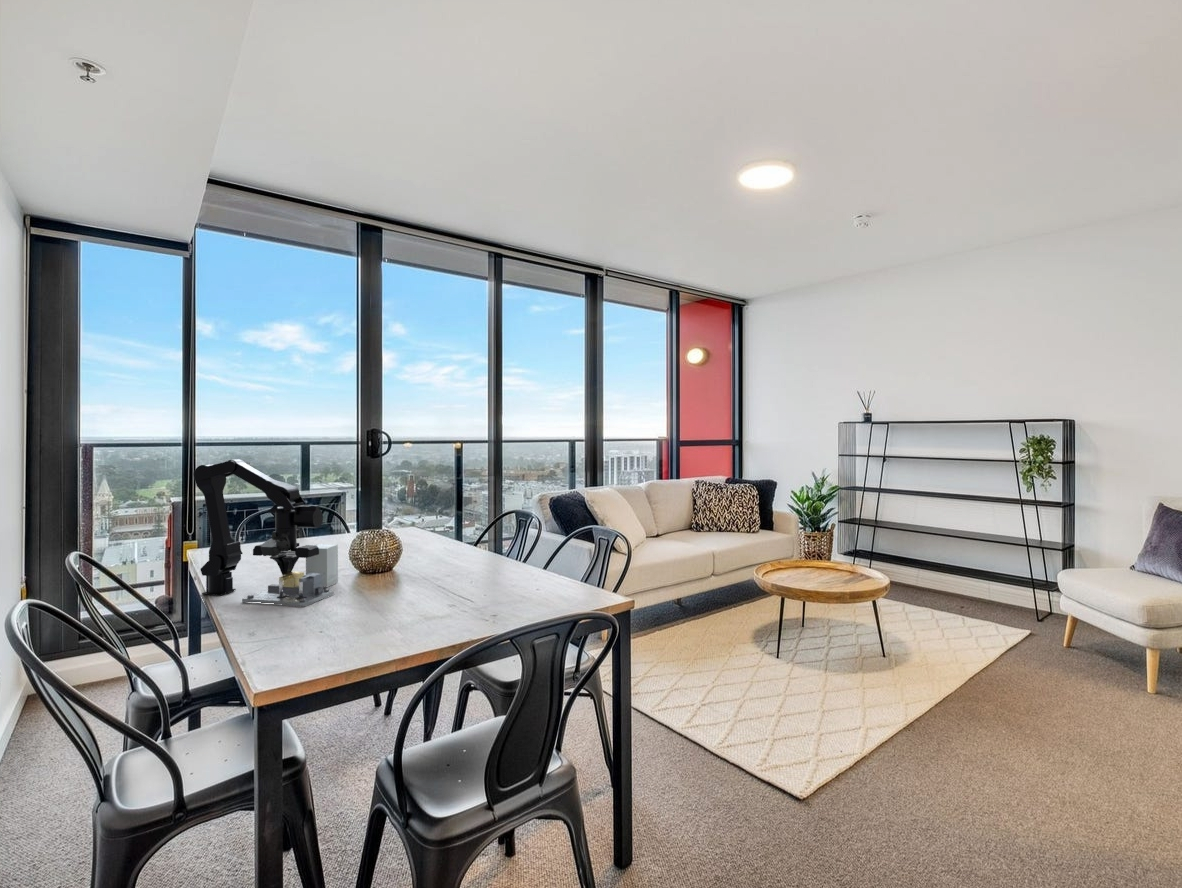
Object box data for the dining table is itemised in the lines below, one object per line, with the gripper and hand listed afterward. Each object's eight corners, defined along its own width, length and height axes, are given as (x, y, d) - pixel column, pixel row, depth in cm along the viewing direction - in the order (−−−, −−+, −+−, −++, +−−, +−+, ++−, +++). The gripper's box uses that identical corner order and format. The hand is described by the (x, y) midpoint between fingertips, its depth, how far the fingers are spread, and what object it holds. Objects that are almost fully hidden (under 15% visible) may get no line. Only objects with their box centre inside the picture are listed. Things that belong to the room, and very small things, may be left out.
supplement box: (338, 582, 200) (338, 544, 200) (326, 588, 192) (326, 548, 192) (317, 581, 200) (317, 543, 200) (304, 587, 193) (304, 547, 193)
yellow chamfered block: (274, 595, 176) (274, 577, 176) (293, 588, 184) (293, 571, 184) (285, 596, 176) (285, 578, 176) (303, 589, 184) (303, 572, 184)
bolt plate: (242, 602, 174) (242, 578, 174) (276, 590, 188) (276, 568, 188) (304, 607, 171) (304, 582, 171) (334, 594, 184) (334, 571, 184)
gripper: (238, 530, 177) (239, 583, 177) (295, 532, 173) (295, 586, 174) (266, 525, 188) (266, 575, 188) (320, 526, 184) (320, 577, 185)
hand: (286, 578), depth 183 cm, fingers closed
